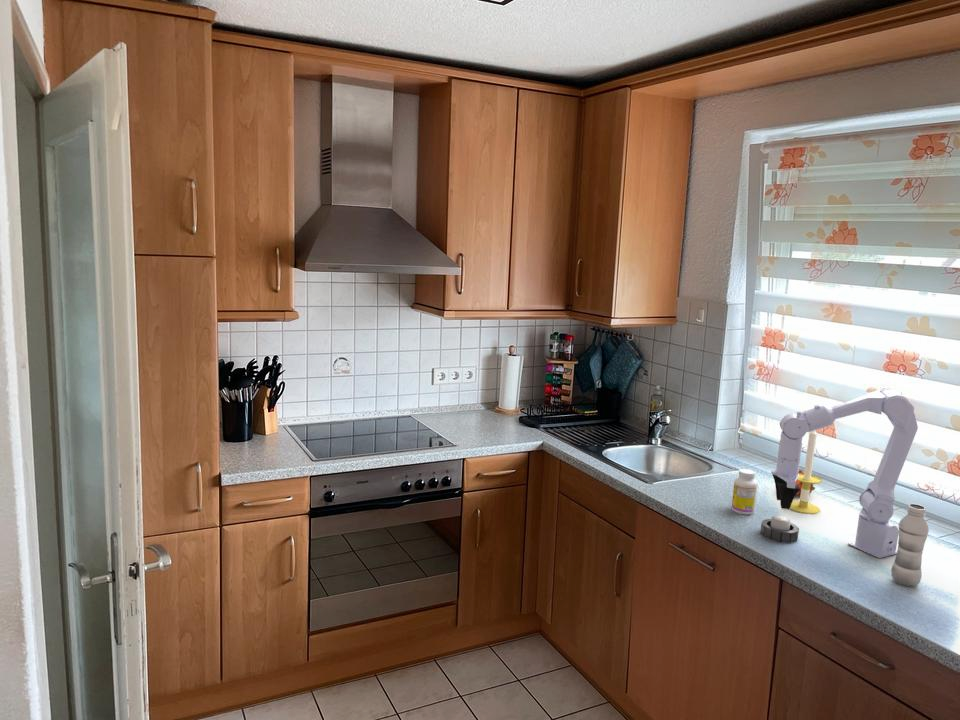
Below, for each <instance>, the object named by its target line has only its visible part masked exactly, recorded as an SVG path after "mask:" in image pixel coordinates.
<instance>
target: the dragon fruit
mask: <svg viewBox="0 0 960 720" xmlns="http://www.w3.org/2000/svg"><path fill="white" fill-rule="evenodd" d="M799 473H800V474H804V472H803V470H799V471H798V474H799ZM795 486H799V487H800V490H799V491H798V493H797V494H796V495H795V497H796V496H800V495H801V488H802V482H800V481H796V485H795ZM815 489H816V487H815V484H811V486H810V493H809V495H810V494H811V493H812V492H813V491H815Z"/></svg>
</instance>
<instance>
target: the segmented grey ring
mask: <svg viewBox="0 0 960 720" xmlns="http://www.w3.org/2000/svg"><path fill="white" fill-rule="evenodd" d="M770 525H771V518H767V519H763V520H762V521H761V525H760V531H759V532H760V534H761V536H762V537H763V538H765V539H767V538H768V540H770V541H771V542H772V541H773V542H776V543H781V544H792V543H796V542H797V541H798V540H799V533H800V528H799V527H798V525H796V524H794V523H792V522H790V529H789V531H781V530H777V529H774V528H772V527H770Z"/></svg>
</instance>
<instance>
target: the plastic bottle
mask: <svg viewBox="0 0 960 720" xmlns="http://www.w3.org/2000/svg"><path fill="white" fill-rule="evenodd" d="M906 513H907V514H906V515H905V516H903V517H902V518H901V519H900V521H899V523H898V531H899V534H898V540H897V549H896V551H897V554H895V557H894V558H895V559H894V562H893V564H892V566H891V578H892V579H893V580H894V582H896V583H897V584H900V585H903V586H904V587H905V586H906V587H916V586H918V585H919V584H920V583H921V580H922V562H923V561H922V558H923V551H924V547H925V543H926V541H927V538H928V534H929V531H930V529H929V525H928V522H927V521H926V520H925V517H926V507H925V506H922V505H921V504H917V503H910V504H908V507H907V510H906Z"/></svg>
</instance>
